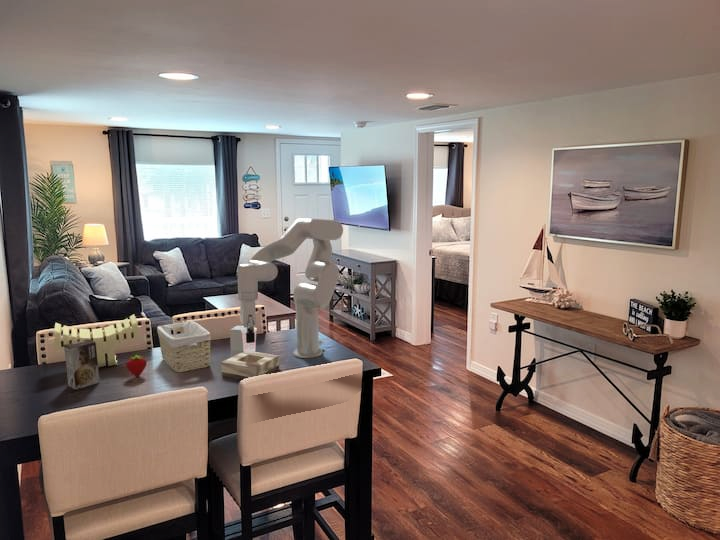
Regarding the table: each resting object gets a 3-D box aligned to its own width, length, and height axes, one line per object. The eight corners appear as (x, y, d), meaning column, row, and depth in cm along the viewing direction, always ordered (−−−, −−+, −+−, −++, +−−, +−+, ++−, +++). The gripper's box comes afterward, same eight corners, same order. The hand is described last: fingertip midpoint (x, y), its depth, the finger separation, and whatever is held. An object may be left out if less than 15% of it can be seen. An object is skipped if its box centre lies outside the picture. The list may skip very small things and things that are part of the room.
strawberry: (125, 376, 207) (123, 351, 205) (145, 372, 211) (144, 348, 209) (128, 381, 202) (126, 356, 200) (149, 377, 206) (147, 352, 204)
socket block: (247, 363, 222) (246, 350, 221) (279, 368, 215) (278, 355, 214) (221, 375, 207) (221, 362, 206) (255, 381, 201) (254, 368, 200)
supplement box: (246, 358, 227) (245, 330, 225) (230, 357, 228) (229, 329, 226) (253, 353, 234) (252, 325, 232) (237, 352, 236) (236, 324, 233)
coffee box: (92, 379, 204) (88, 338, 202) (100, 382, 200) (96, 341, 198) (67, 385, 197) (63, 344, 195) (75, 390, 193) (70, 347, 191)
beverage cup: (258, 348, 213) (257, 314, 210) (256, 353, 206) (255, 318, 204) (243, 348, 212) (242, 314, 210) (240, 353, 206) (239, 318, 204)
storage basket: (214, 367, 217) (212, 332, 215) (173, 375, 208) (171, 339, 206) (195, 352, 237) (193, 320, 234) (157, 359, 227) (155, 325, 225)
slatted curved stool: (58, 375, 208) (54, 331, 205) (59, 363, 222) (55, 322, 219) (140, 363, 222) (137, 322, 219) (136, 352, 236) (134, 313, 233)
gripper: (235, 291, 213) (236, 335, 216) (241, 300, 197) (242, 347, 199) (254, 290, 215) (255, 333, 218) (261, 299, 199) (262, 345, 202)
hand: (249, 339), depth 209 cm, fingers closed on beverage cup, 6 cm apart
